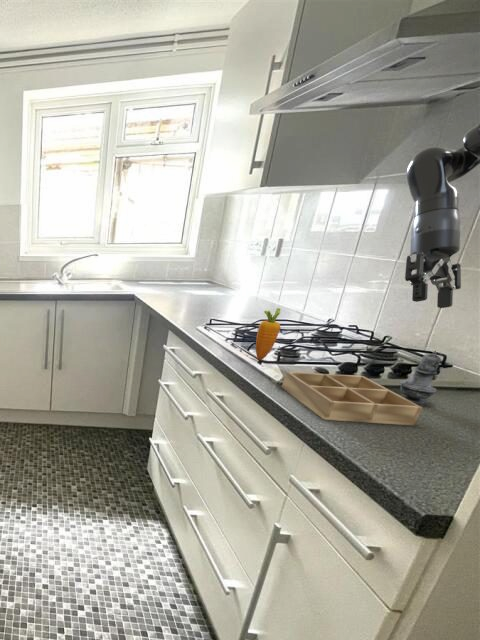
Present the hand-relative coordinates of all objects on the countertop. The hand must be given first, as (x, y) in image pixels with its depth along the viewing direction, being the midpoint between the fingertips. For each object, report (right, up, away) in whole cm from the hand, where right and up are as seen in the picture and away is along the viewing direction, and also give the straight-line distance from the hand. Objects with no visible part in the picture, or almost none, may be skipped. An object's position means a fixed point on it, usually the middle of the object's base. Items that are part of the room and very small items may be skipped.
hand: (432, 304), depth 94 cm
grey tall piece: (-5, -22, 0) cm, 23 cm away
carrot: (-23, -12, +24) cm, 35 cm away
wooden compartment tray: (-22, -23, -2) cm, 32 cm away
